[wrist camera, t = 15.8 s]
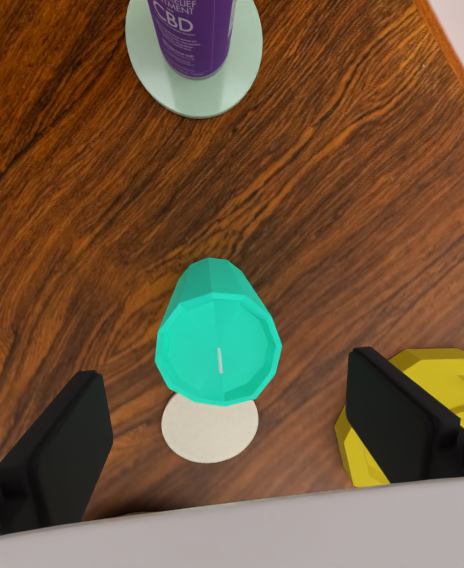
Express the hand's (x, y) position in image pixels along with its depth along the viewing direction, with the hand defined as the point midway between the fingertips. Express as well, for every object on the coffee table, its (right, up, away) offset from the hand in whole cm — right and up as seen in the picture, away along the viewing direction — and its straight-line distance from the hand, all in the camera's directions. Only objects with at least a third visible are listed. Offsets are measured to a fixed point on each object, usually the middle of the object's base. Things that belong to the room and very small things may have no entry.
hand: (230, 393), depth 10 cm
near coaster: (-2, +20, +8) cm, 22 cm away
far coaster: (-2, -9, +16) cm, 18 cm away
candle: (-2, +3, +13) cm, 13 cm away
